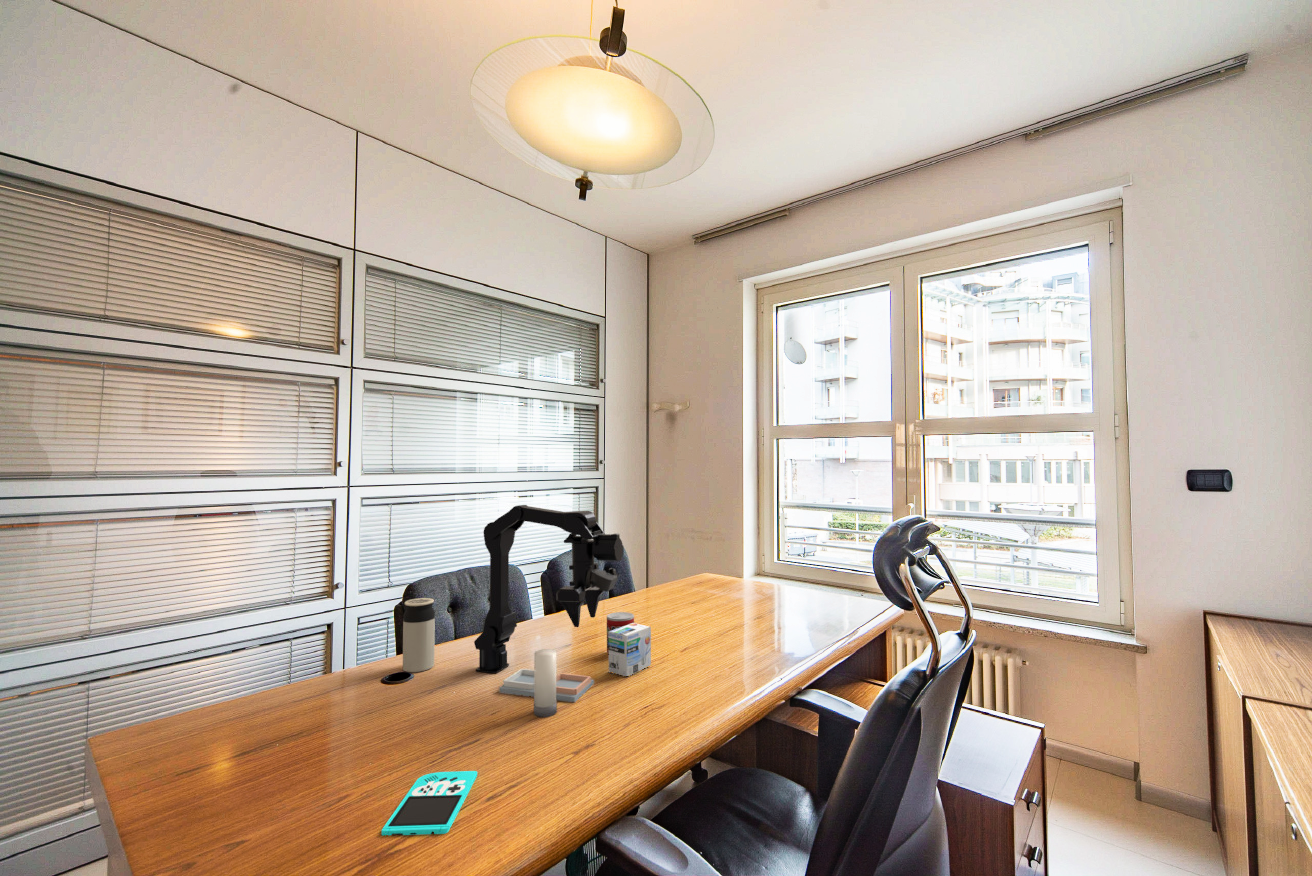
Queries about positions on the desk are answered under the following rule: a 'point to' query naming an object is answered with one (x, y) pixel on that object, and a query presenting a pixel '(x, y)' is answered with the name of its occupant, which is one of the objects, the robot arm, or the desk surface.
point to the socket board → (566, 685)
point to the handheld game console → (431, 804)
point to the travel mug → (418, 635)
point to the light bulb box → (629, 649)
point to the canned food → (617, 622)
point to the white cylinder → (545, 683)
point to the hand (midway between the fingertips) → (584, 621)
